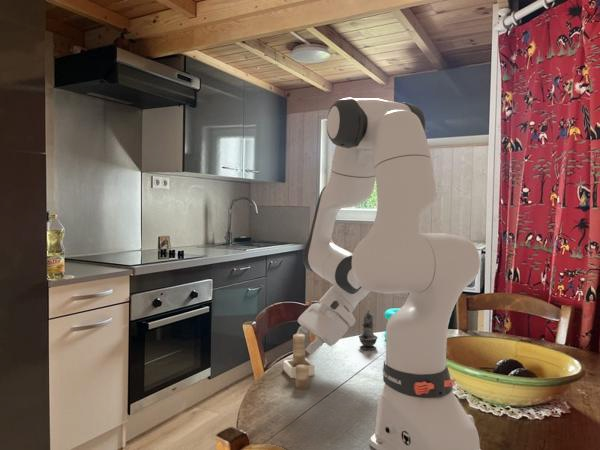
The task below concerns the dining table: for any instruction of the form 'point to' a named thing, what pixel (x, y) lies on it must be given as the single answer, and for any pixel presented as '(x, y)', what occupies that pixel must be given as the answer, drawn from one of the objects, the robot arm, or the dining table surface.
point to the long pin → (298, 349)
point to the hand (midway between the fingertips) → (300, 346)
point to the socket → (292, 370)
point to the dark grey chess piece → (368, 334)
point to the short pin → (302, 377)
